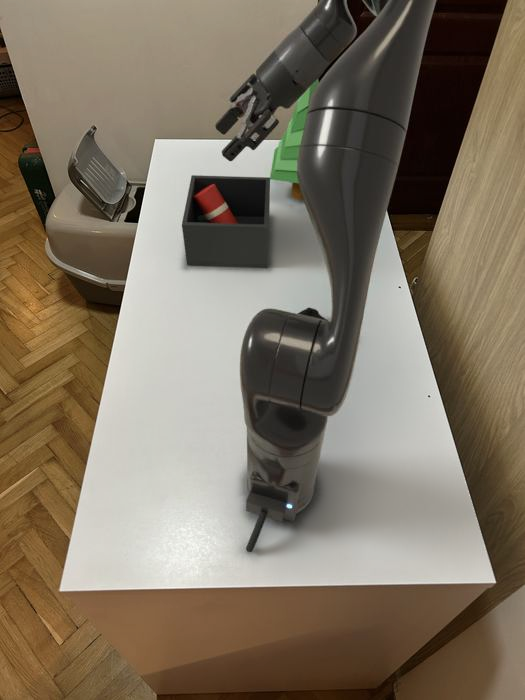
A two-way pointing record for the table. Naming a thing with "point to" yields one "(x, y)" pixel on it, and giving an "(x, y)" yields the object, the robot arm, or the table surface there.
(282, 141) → the decorative tree
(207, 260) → the bin
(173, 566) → the table surface
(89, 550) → the table surface
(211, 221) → the red cylinder
